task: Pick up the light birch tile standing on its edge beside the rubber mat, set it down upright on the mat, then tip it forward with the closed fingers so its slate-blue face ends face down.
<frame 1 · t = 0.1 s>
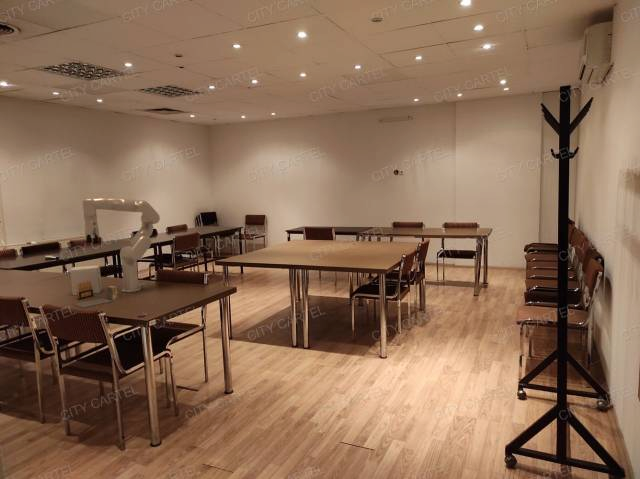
hand: (92, 243, 304), 37 cm above the table, tool pointing down, fingers open, 9 cm apart
rubber mat: (92, 303, 293), on the table
birch tile: (113, 298, 305), on the table
ammunition clip: (85, 298, 309), on the table
supplement box: (87, 292, 325), on the table
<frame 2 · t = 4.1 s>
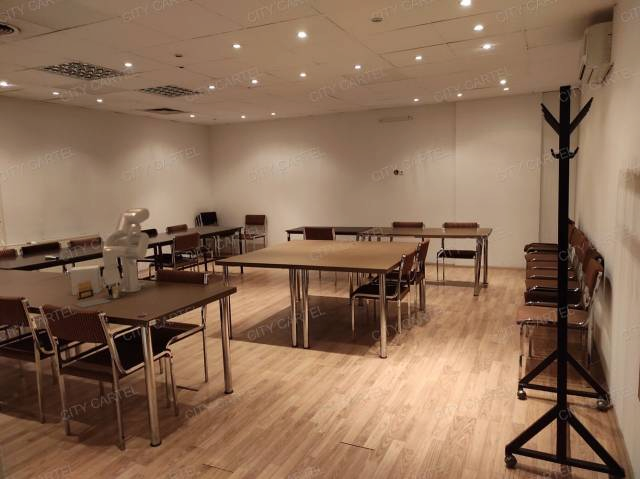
hand: (113, 293, 305), 3 cm above the table, tool pointing down, fingers closed on birch tile, 3 cm apart
birch tile: (113, 297, 306), point 1 cm above the table, touching gripper
everything else where it was.
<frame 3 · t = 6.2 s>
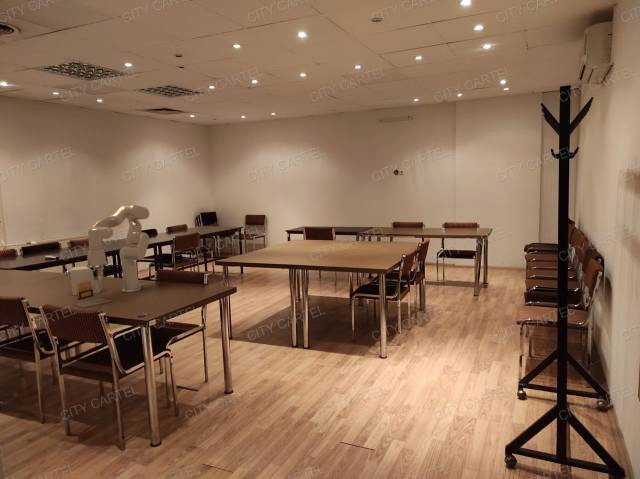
hand: (98, 275, 295), 17 cm above the table, tool pointing down, fingers closed on birch tile, 3 cm apart
birch tile: (98, 279, 295), point 14 cm above the table, touching gripper
everything else where it was.
when the fingers open (4 cm above the table, at t = 8.8 s): birch tile stays where it is, resting on rubber mat.
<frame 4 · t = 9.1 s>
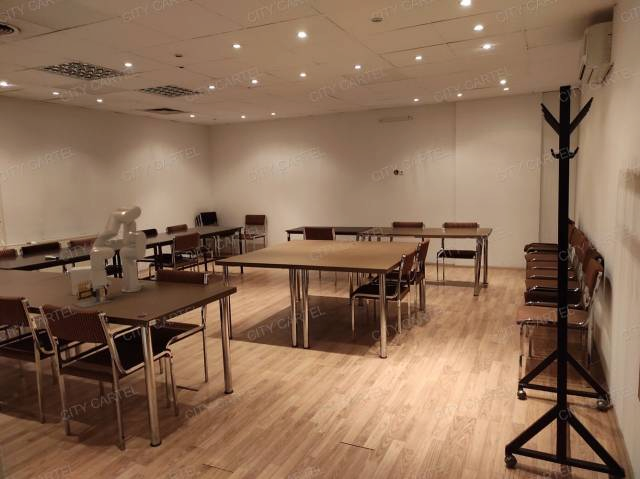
hand: (100, 295, 296), 4 cm above the table, tool pointing down, fingers open, 6 cm apart
birch tile: (100, 300, 297), point 1 cm above the table, touching rubber mat
everything else where it was.
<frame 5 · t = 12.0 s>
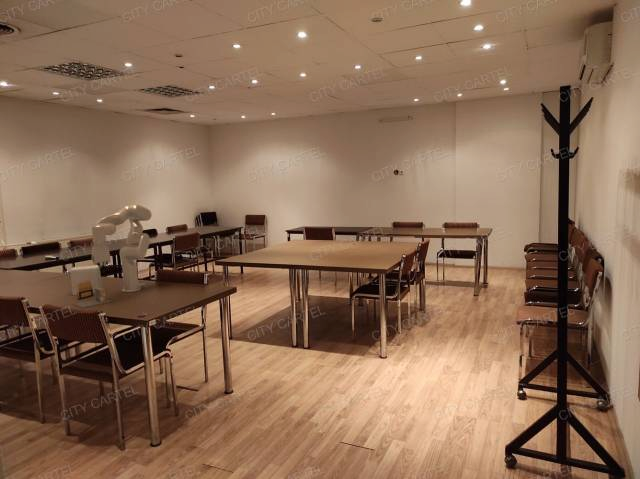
hand: (102, 272, 297), 19 cm above the table, tool pointing down, fingers closed
nothing on the table moved.
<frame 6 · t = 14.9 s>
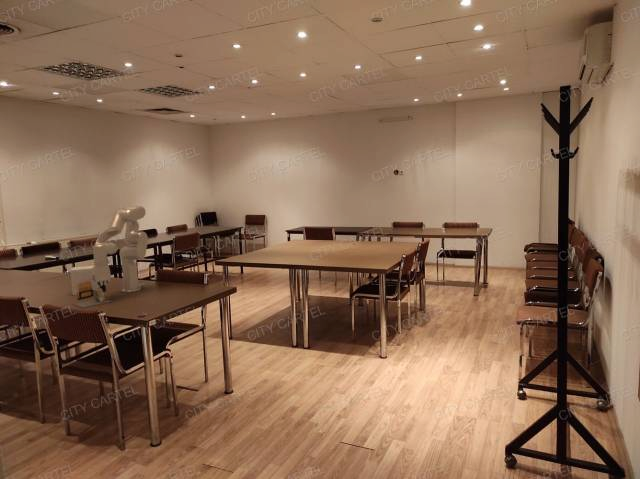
hand: (103, 291, 297), 6 cm above the table, tool pointing down, fingers closed
birch tile: (100, 300, 297), point 1 cm above the table, tilted 12°, touching gripper, rubber mat
everything else where it was.
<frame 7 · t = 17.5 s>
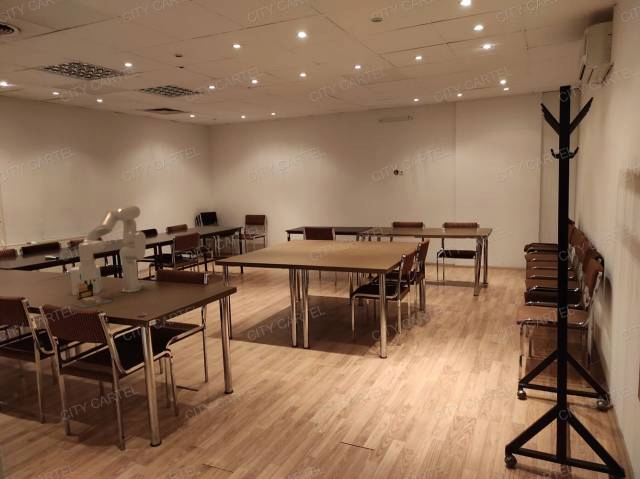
hand: (90, 290, 293), 8 cm above the table, tool pointing down, fingers closed
birch tile: (98, 298, 295), point 2 cm above the table, tilted 90°, touching rubber mat
everything else where it was.
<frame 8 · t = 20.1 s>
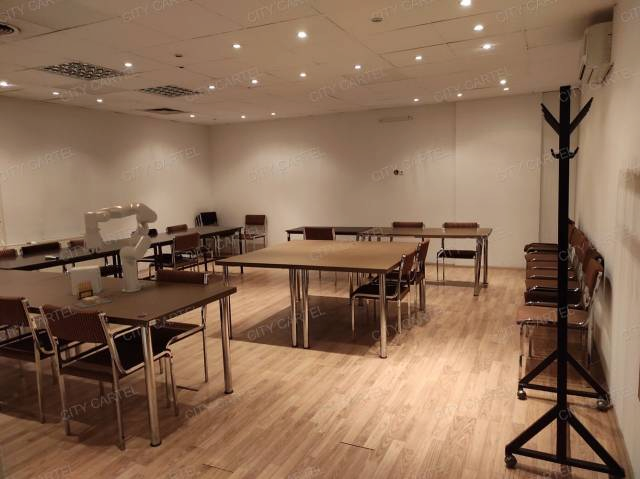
hand: (94, 258, 300), 27 cm above the table, tool pointing down, fingers closed
nothing on the table moved.
at the end: birch tile tilted 90°; birch tile touching rubber mat; the gripper is holding nothing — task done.
